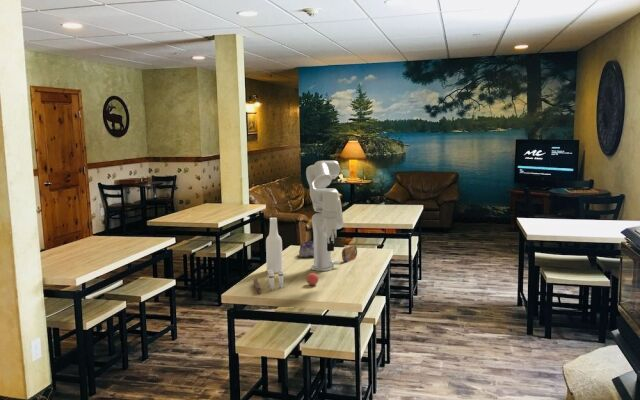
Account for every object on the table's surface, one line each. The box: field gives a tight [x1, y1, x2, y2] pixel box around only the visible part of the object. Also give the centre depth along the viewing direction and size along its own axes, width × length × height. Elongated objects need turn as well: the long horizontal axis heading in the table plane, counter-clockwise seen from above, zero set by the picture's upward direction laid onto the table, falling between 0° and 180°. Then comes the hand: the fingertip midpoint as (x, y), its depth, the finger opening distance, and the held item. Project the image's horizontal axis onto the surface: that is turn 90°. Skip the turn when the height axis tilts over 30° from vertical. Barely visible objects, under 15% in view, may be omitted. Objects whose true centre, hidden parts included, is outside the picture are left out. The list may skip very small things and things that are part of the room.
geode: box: [298, 240, 314, 258], centre depth 335 cm, size 20×12×10 cm, turn 163°
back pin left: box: [268, 272, 275, 291], centre depth 262 cm, size 2×2×8 cm
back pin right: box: [267, 270, 273, 288], centre depth 267 cm, size 2×2×8 cm
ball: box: [306, 272, 319, 286], centre depth 270 cm, size 6×6×6 cm
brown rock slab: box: [341, 244, 358, 263], centre depth 320 cm, size 15×3×8 cm, turn 148°
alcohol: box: [265, 217, 284, 274], centre depth 295 cm, size 9×9×30 cm
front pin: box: [277, 270, 285, 289], centre depth 266 cm, size 2×2×8 cm
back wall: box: [252, 278, 262, 295], centre depth 264 cm, size 2×16×3 cm, turn 13°
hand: (330, 250), depth 269 cm, fingers closed
